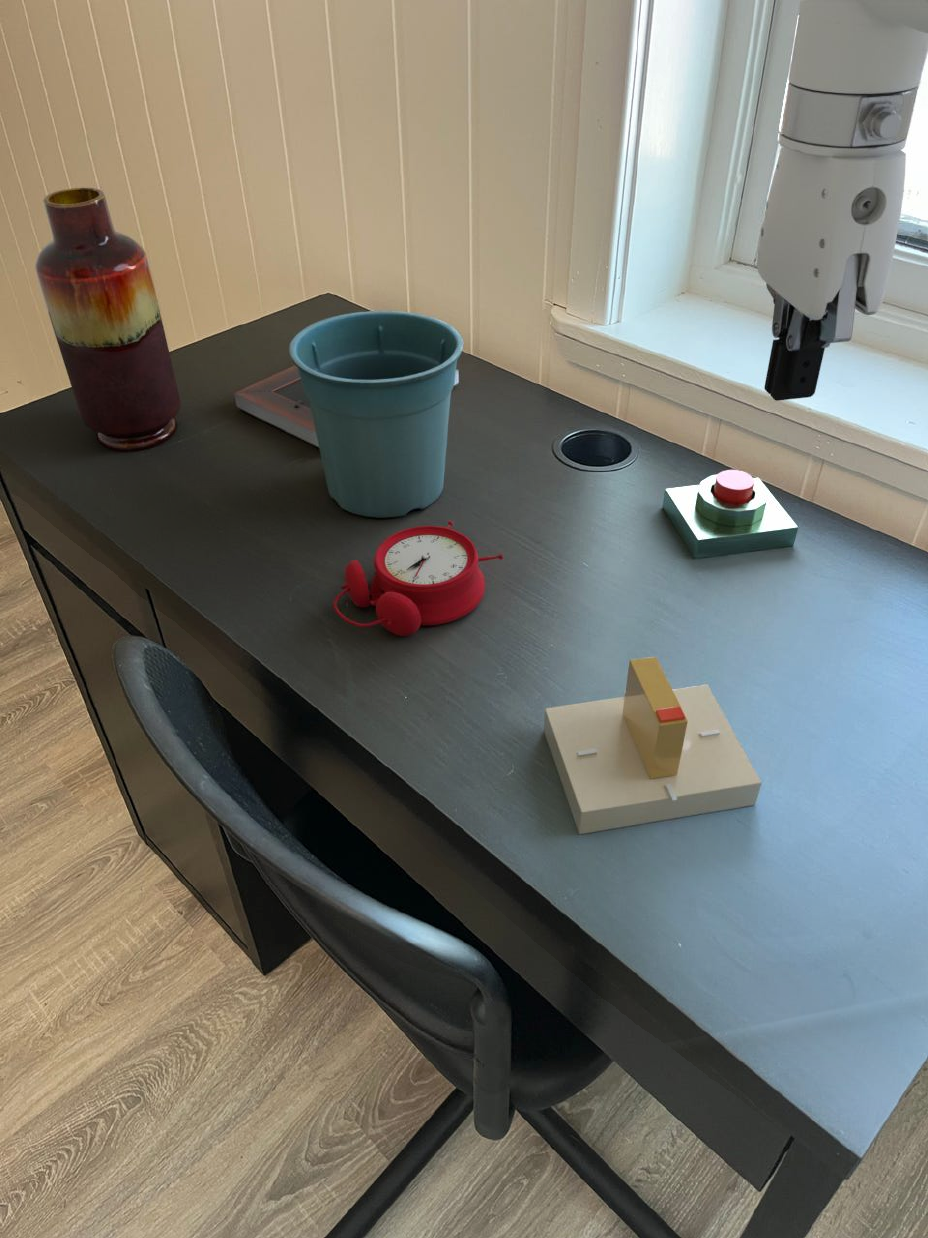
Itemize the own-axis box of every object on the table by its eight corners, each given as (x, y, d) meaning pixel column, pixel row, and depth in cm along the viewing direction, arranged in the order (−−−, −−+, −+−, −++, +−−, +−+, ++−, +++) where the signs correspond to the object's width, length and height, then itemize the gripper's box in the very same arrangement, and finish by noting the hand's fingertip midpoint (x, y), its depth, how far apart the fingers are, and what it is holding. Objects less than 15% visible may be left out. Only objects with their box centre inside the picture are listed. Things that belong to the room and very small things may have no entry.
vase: (168, 400, 116) (113, 172, 99) (199, 438, 108) (146, 200, 91) (77, 425, 111) (3, 191, 94) (103, 466, 104) (28, 221, 87)
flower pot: (395, 432, 109) (385, 295, 98) (497, 486, 100) (498, 341, 89) (278, 488, 100) (254, 343, 90) (378, 552, 91) (364, 400, 81)
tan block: (622, 713, 71) (629, 657, 67) (647, 709, 71) (656, 653, 67) (650, 779, 66) (659, 722, 62) (677, 775, 66) (688, 718, 62)
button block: (754, 495, 98) (762, 462, 95) (793, 545, 91) (802, 511, 88) (662, 507, 96) (667, 473, 94) (694, 558, 89) (701, 523, 87)
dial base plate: (701, 703, 75) (706, 679, 73) (757, 809, 67) (764, 785, 65) (542, 727, 73) (543, 703, 72) (580, 839, 65) (583, 815, 64)
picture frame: (366, 350, 126) (237, 410, 113) (364, 332, 124) (233, 390, 112) (459, 386, 117) (330, 455, 105) (458, 367, 116) (327, 435, 103)
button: (742, 483, 93) (745, 467, 92) (757, 502, 90) (761, 487, 89) (707, 487, 92) (710, 471, 91) (721, 507, 90) (724, 491, 88)
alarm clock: (518, 555, 84) (385, 596, 75) (506, 614, 87) (377, 660, 78) (443, 507, 90) (311, 539, 81) (434, 564, 93) (306, 601, 84)
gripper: (973, 140, 52) (888, 437, 64) (845, 88, 64) (792, 348, 75) (845, 150, 52) (783, 449, 63) (739, 96, 63) (702, 357, 75)
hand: (788, 393), depth 69 cm, fingers closed
